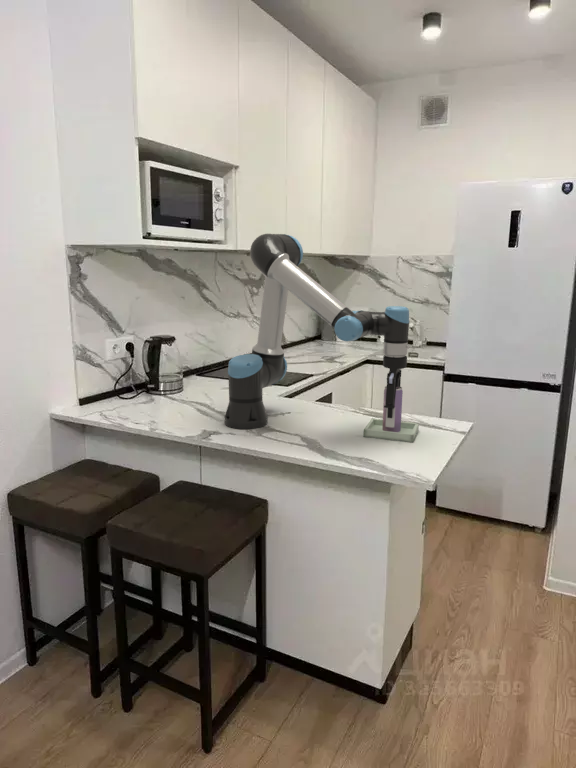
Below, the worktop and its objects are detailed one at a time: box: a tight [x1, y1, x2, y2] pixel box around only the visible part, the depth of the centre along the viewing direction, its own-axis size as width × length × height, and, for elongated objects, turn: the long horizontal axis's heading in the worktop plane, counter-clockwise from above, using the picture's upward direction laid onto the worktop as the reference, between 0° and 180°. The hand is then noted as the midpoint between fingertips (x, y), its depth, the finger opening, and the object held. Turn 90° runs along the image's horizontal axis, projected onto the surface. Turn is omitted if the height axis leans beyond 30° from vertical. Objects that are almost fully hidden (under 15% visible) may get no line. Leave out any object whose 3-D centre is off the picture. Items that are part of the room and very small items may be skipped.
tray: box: [363, 417, 420, 443], centre depth 183 cm, size 16×13×2 cm
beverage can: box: [382, 385, 403, 432], centre depth 181 cm, size 6×6×15 cm
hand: (391, 423), depth 182 cm, fingers open, 7 cm apart
